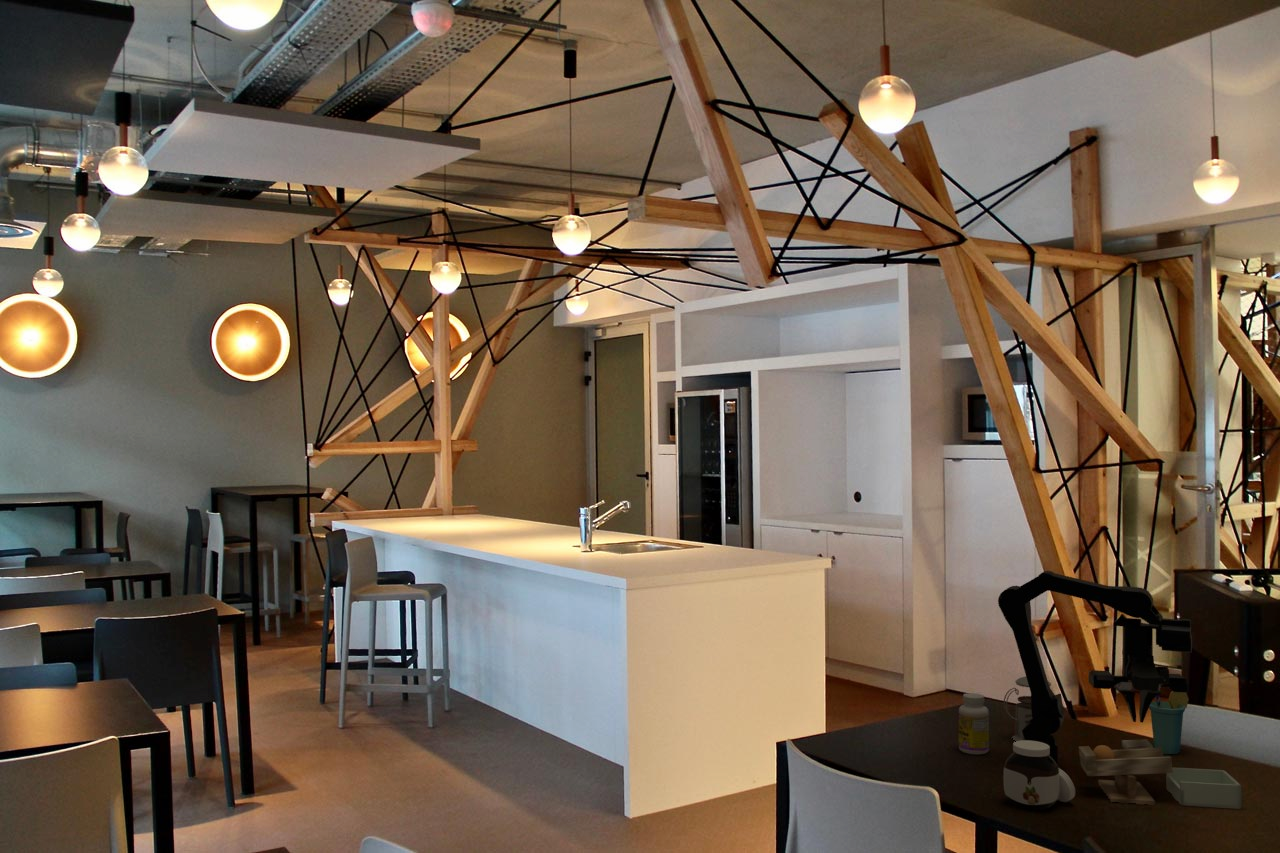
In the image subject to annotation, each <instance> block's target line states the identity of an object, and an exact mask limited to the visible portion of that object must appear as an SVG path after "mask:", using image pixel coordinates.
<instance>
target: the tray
mask: <svg viewBox="0 0 1280 853" xmlns="http://www.w3.org/2000/svg"><path fill="white" fill-rule="evenodd" d="M1172 768H1173V773H1165V775H1166V776H1165V777H1166V778H1165V782H1166V786H1165V787H1166V790H1167V791H1168V793H1169V792H1170V793H1171V794H1172V795H1171V794H1170V795H1171V796H1172V797H1173V798H1174V799H1175V800H1176V802H1177V801H1178V802H1179V803H1178V802H1177V803H1178V804H1179V805H1180V806H1185V807H1186V806H1187V807H1205V808H1219V809H1220V808H1221V809H1237V810H1242V807H1243V806H1242V805H1243V804H1242V795H1243V793H1242V791H1243V790H1242V785H1241V784H1240V783H1239V782H1238V781H1237V780H1236V779H1235V778H1234V777H1233V776H1232V775H1230V774H1229V773H1228V772H1227V771H1226V770H1225V769H1224V770H1223V769H1208V768H1190V767H1173V766H1172Z"/></svg>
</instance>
